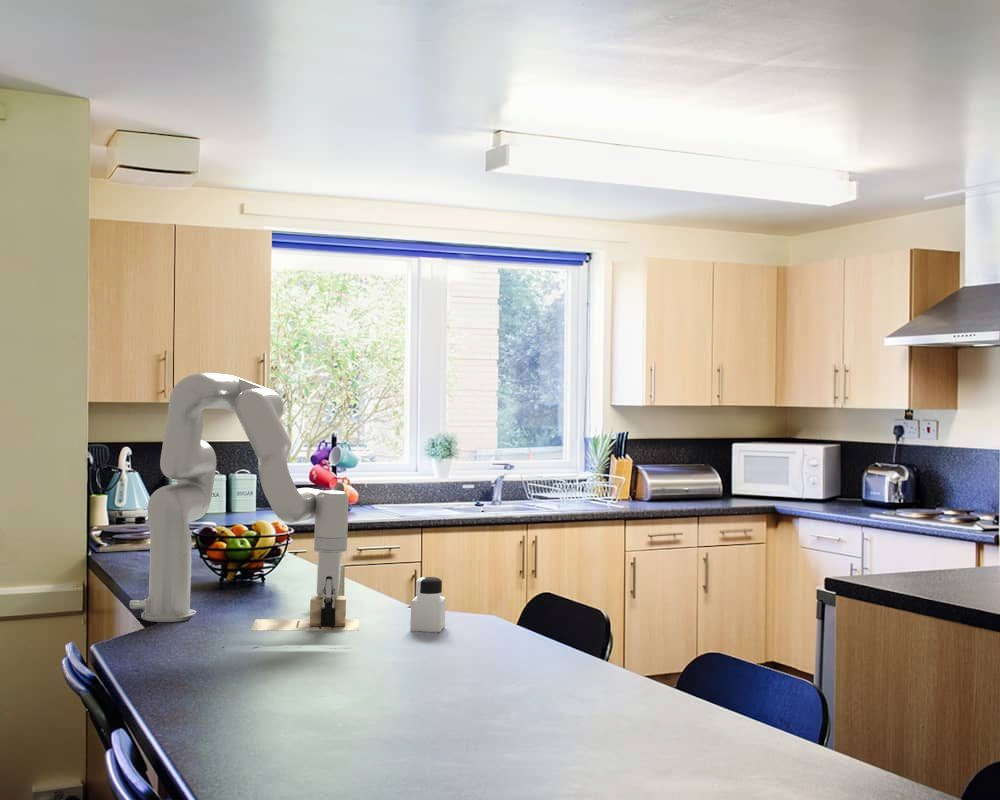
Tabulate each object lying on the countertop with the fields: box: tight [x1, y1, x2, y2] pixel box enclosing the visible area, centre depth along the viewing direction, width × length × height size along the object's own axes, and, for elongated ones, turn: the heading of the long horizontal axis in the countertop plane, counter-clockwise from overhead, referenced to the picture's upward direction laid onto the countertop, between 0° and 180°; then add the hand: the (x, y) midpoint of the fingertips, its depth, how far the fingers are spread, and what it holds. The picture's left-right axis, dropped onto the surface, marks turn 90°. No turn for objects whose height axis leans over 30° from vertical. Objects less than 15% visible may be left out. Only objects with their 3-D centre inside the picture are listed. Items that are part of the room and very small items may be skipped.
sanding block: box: [309, 595, 347, 626], centre depth 243 cm, size 8×5×6 cm, turn 98°
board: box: [250, 618, 360, 631], centre depth 242 cm, size 24×12×1 cm, turn 98°
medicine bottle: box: [409, 576, 447, 633], centre depth 247 cm, size 7×7×12 cm
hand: (328, 622), depth 243 cm, fingers closed on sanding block, 5 cm apart
